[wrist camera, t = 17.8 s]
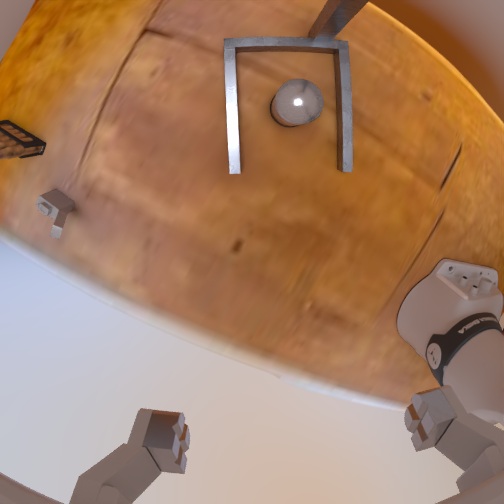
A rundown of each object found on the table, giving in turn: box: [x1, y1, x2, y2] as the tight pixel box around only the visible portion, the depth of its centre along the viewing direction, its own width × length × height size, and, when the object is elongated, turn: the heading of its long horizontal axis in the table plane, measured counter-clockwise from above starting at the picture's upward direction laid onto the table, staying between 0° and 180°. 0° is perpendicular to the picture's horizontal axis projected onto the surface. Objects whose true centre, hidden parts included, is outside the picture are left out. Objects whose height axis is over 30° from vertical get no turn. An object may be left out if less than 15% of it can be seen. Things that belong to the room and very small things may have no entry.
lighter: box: [36, 189, 74, 239], centre depth 34 cm, size 7×2×8 cm, turn 56°
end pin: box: [270, 79, 324, 127], centre depth 29 cm, size 5×5×9 cm
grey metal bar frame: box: [224, 0, 369, 174], centre depth 25 cm, size 14×18×16 cm
